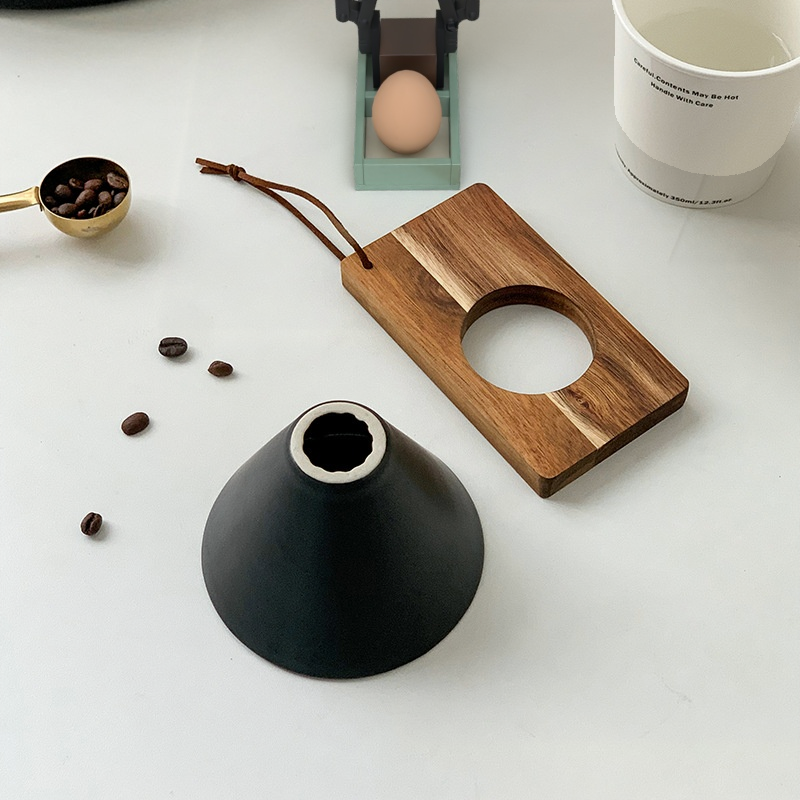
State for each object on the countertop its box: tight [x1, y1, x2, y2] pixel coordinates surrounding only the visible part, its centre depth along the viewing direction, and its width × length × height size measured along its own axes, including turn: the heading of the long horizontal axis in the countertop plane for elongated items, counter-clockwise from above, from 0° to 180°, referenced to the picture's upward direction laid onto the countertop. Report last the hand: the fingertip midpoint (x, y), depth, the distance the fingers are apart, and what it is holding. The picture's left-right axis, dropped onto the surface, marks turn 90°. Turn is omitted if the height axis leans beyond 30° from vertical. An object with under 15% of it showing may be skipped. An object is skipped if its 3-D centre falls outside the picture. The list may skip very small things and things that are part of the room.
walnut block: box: [379, 17, 437, 90], centre depth 108 cm, size 5×5×5 cm
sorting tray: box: [353, 41, 462, 191], centre depth 107 cm, size 9×17×3 cm, turn 0°
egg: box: [372, 70, 442, 154], centre depth 102 cm, size 6×6×8 cm
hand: (408, 77), depth 110 cm, fingers closed on walnut block, 5 cm apart
